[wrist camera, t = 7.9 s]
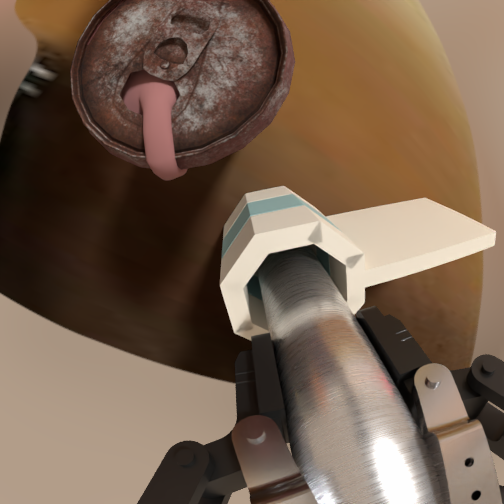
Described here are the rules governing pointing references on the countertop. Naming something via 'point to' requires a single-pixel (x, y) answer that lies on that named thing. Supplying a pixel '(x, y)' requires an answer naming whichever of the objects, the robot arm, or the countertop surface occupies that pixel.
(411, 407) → the robot arm
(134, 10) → the can
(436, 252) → the white hinge leaf
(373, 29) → the countertop surface
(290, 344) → the hinge pin
